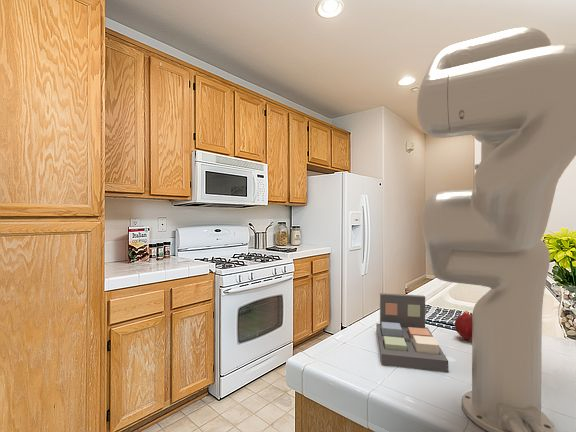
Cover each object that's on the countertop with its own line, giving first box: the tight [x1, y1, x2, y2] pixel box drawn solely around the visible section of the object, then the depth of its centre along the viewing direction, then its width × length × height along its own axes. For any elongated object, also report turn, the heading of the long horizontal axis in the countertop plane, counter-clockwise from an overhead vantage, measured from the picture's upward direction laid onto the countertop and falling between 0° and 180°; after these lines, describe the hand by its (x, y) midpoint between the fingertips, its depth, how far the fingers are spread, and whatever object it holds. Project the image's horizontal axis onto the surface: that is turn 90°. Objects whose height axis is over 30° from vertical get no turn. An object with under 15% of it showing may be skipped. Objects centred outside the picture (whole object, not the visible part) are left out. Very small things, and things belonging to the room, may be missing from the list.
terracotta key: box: [408, 327, 431, 339], centre depth 80 cm, size 5×5×2 cm
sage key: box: [384, 336, 407, 351], centre depth 74 cm, size 5×5×2 cm
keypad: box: [375, 292, 449, 373], centre depth 77 cm, size 20×14×12 cm
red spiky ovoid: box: [454, 310, 472, 341], centre depth 83 cm, size 6×6×8 cm
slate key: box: [381, 322, 402, 338], centre depth 81 cm, size 5×5×2 cm
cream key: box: [413, 335, 440, 354], centre depth 72 cm, size 5×5×2 cm
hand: (499, 246), depth 71 cm, fingers closed
